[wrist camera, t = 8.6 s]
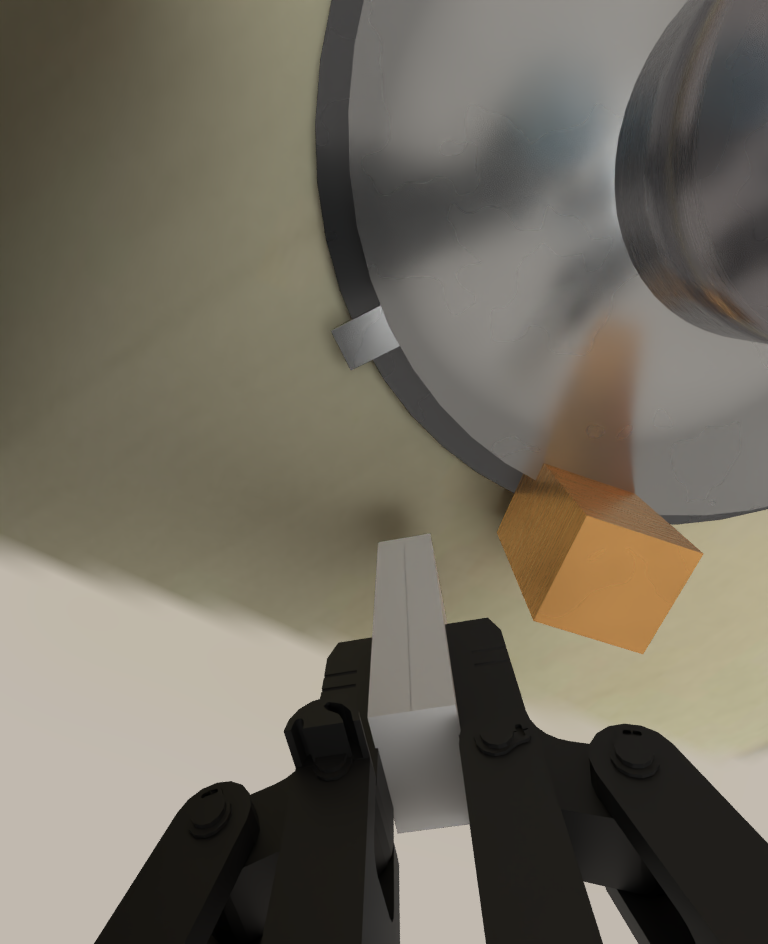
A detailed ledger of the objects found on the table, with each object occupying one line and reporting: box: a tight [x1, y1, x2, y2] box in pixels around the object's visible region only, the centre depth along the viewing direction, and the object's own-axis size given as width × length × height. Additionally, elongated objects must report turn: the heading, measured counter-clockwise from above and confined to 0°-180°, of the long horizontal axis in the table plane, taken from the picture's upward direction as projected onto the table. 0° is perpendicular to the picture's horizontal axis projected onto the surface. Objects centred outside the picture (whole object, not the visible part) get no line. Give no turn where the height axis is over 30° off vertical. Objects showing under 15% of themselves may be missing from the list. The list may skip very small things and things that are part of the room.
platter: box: [331, 0, 768, 654], centre depth 12 cm, size 20×22×5 cm
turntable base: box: [315, 0, 768, 524], centre depth 15 cm, size 22×22×1 cm
